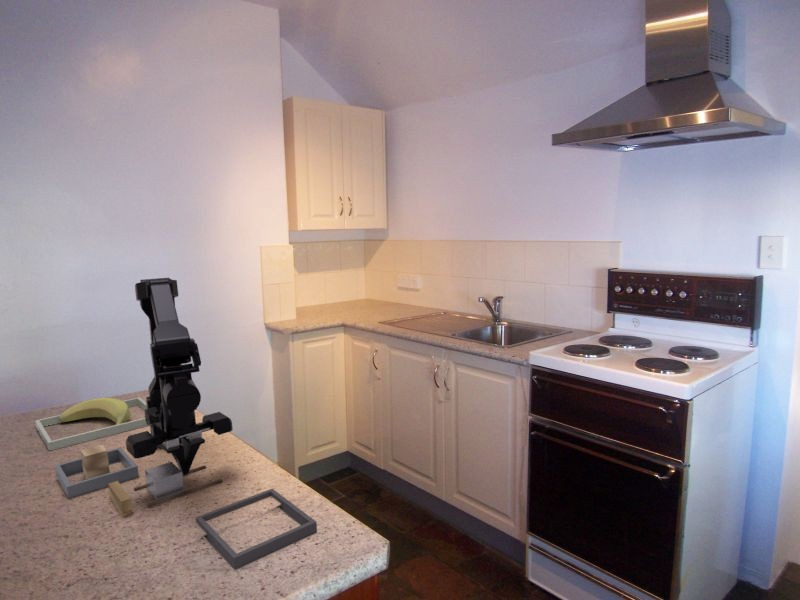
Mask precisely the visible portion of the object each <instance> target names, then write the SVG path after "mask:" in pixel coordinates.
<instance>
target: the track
mask: <svg viewBox="0 0 800 600" xmlns="http://www.w3.org/2000/svg"><path fill="white" fill-rule="evenodd" d="M205 469H207V466H206V464H205V465H202V466H198V467H195V468H190V470H189V473H188V475H189V474H192V473H196V472H198V471H202V470H205ZM182 476H183V475H182ZM183 477H184V476H183ZM221 483H224V482H223V479H217V480H214V481H212V482H209V483H205V484H202V485H200V486H197V487H194V488H191V489H188V490H184V492H181V493H178V494H175V495H172V496H169V497H166V498H163V499H160V500H156V501H153V502H151V503H150V502H149V503H147V504H146V506H147V508H148V509H150V508H152V507H155V506H157V505H161V504H164V503H166V502H170V501H172V500H175V499H177V498H178V499H179V498H182V497H184V496H186V495H190V494H192V493H196V492H198V491H201V490H205V489H207V488H211V487H212V486H216V485H219V484H221ZM142 489H147V484H145V483H144V484H142V485H139V486H136V487H134V488H133V490H134V491H135V492H136V491H140V490H142ZM108 493H109V498H110V500H111V502H112V503H113V504H114V506H115V508H116V509H117V510H118V512H119V513H120V515H121V516H122V517H125V516H129V515H132V514H133V505H132V504H133V503H132V497H130V496H129V494H128V493H127V491H126V490H125V489H124V487H123V486H122V485H121V484H120V483H119V482H118V481H115V482H112V483H109V484H108Z"/></svg>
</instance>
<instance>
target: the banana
mask: <svg viewBox="0 0 800 600" xmlns="http://www.w3.org/2000/svg"><path fill="white" fill-rule="evenodd" d="M123 401H124V400H122V399H118V398H114V397H99V398H93V399H88V400H84V401H82V402H79V403H76V404H74V405H72V406H71V407H69V408H68V409H66V410H65V411H63V412H62V413H61V414H59V415H60V416H59V420H60V422H63V423H67V422H73V421H77V420H83V419H88V418H105V419H106V418H107V419H108V420H111V421H113V423H115V425H118V424H122V423H126V422H128V421H129V420H130V418H131V416H132V415H131V410H130V409H129V408H130V407H128V406H127V404H126V403H125V402H123Z"/></svg>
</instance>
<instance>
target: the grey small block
mask: <svg viewBox="0 0 800 600" xmlns="http://www.w3.org/2000/svg"><path fill="white" fill-rule="evenodd" d="M144 473H145V481H146V482H145V483H146V484H147V487H146V490H147V491H148V493H150V494H151V496H152V497H153V498H154V500H156V501H158V500H161V499H164V498H167V497H170V496H173V495H176V494H179V493H182V492H185V488H184V478H183V477H184V476H182V471H181V470H180V469H179V467H178V466H176V465H175V464H174V462H172V461H169V462H166V463H163V464H160V465H155V466H153V467H150V468H146V469H144Z"/></svg>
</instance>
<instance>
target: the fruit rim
mask: <svg viewBox="0 0 800 600" xmlns="http://www.w3.org/2000/svg"><path fill="white" fill-rule="evenodd" d="M122 401H123V402H125V403H126V404H127V406H128V408H132V407H137V406H138V407H140V409H142V410H143V411H144V412H145V409H146V400H143V398H141V397H140V396H139V397H134V398H130V399H125V400H122ZM60 415H61V414H57V415H53V416H49V417H45V418H44V417H43V418H41V419H36V420H35V426H36V427H35V428H36V430H37V431H39V432H38V434H39V435H40V438H41V439H42V441H43V440H44V441H43V442H44V444H45V446H46V447H47V449H48V451H49V452H50V450H51V451H53V450H58V449H62V448H66V447H70V446H74V445H77V444H81V443H85V442H89V441H93V440H98V439H101V438H105V437H109V436H113V435H116V434H117V435H118V434H120V433H125V432H128V431H133V430H136V429H140V428H144V427H148V426H149V427H150V425H151V424H150V425H147V424H146V419H145V417H143V418H138V419H135V420H131V421H126V422H125V423H122V424H118V425H116V424H114V425H110V426H106V427H103V428H98V429H94V430H90V431H85V432H82V433H78V434H74V435H70V436H66V437H62V438H61V437H60V438H56V439H53V440H52V439H51V437H50V435H49V434H48V432H47V431H46V429H45V427H44V426H46V427H49V426H48V425H50V426H53V425H52V424H54V425H57V423H59V424H63V423H62V422H60V420H59V416H60Z"/></svg>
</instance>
